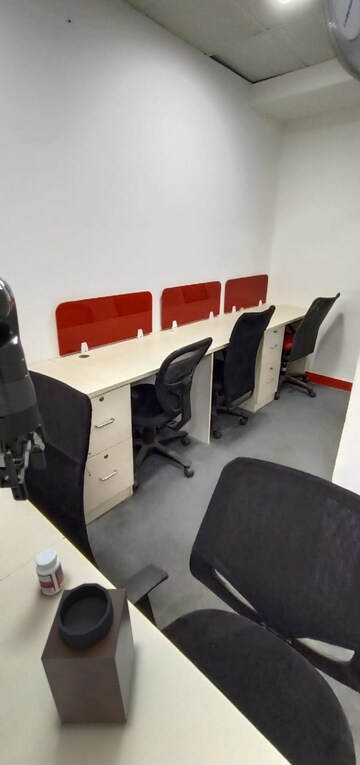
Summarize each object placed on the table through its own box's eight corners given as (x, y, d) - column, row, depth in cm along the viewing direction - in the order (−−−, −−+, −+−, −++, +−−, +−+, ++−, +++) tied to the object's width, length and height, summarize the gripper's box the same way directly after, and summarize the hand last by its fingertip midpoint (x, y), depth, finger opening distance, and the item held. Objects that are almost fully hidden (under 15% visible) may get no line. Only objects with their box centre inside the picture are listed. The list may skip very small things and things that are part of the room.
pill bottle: (58, 571, 78) (51, 542, 75) (69, 584, 75) (62, 556, 72) (37, 585, 75) (29, 556, 72) (47, 600, 72) (39, 571, 69)
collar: (51, 649, 49) (47, 636, 48) (68, 595, 56) (65, 582, 55) (108, 648, 48) (105, 635, 47) (117, 594, 56) (115, 581, 55)
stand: (60, 723, 54) (40, 658, 48) (78, 651, 63) (63, 589, 57) (126, 722, 54) (114, 657, 47) (135, 650, 63) (125, 588, 57)
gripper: (8, 385, 64) (27, 459, 71) (-37, 424, 51) (-9, 512, 58) (49, 383, 64) (64, 458, 71) (15, 423, 51) (37, 511, 58)
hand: (31, 482), depth 64 cm, fingers open, 8 cm apart
